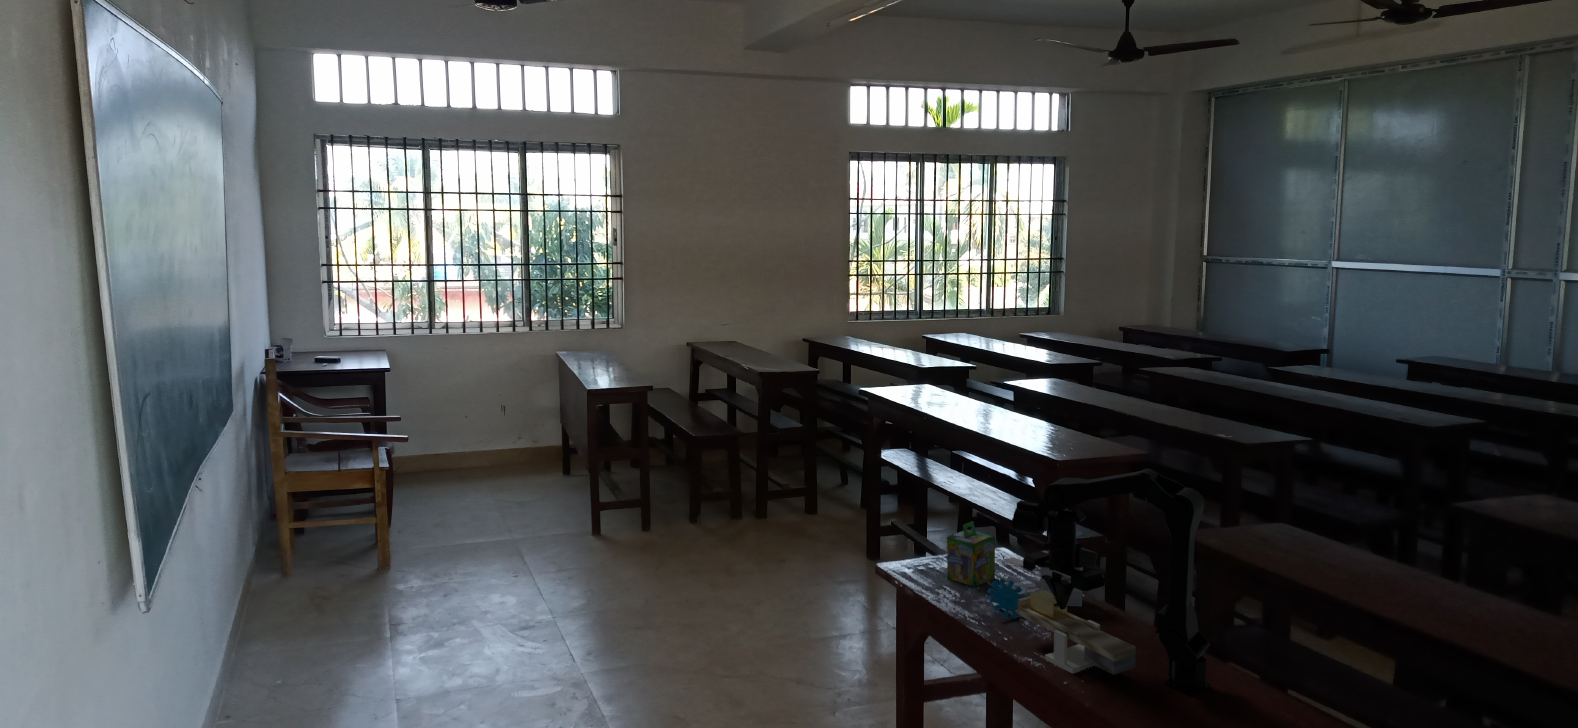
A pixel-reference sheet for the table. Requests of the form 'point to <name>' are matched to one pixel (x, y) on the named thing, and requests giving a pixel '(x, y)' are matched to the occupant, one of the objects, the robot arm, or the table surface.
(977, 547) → the chalk box
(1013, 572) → the table surface
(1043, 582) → the ink cartridge box
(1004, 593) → the gear
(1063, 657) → the pivot stand
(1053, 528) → the robot arm
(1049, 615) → the beige rectangular block
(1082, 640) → the seesaw beam
